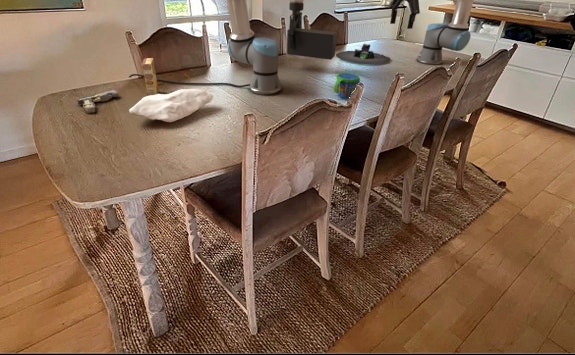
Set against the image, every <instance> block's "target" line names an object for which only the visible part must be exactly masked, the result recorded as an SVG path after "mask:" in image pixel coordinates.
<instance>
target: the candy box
mask: <svg viewBox="0 0 575 355" xmlns="http://www.w3.org/2000/svg"><path fill="white" fill-rule="evenodd" d="M141 66H142V73H143V75H144V77H143V78H144V82H145V87H146V92H147V96H150V95H156V94H159V91H160V90H159V84H158V80H157V78H158V77H157V73H156V66H155V62H154V58H153V57H151V58H150V57H149V58H146V57H145V58H143V60H142V63H141Z"/></svg>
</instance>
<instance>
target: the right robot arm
mask: <svg viewBox="0 0 575 355" xmlns="http://www.w3.org/2000/svg"><path fill="white" fill-rule="evenodd" d="M404 1H405V2H407V4H408V7H409V10H410V14H409V18H408V22H407V25H406V26H407V27H406V28H407V29H408V30H412V29H413V27H414V22H415V20H416V16H417V15H419V14H420V13H421V11H420V0H392V1H391V2H390V5H389V9H391V14H390V21H389V22H390V25H394V24H396V21H397V14H398V8H399V7H400V6H401V5H402V3H403V2H404ZM474 1H475V0H456V3H455V8H454V11H453V14H452V18H451V21H450V23H445V22H443V23H441V22H438V23H437V22H436V23H435V22H434V23H429V24H428V25H427V27H426V31H425V35H424V40H423V45H422V48H421V50H420V51H419V53H417V57H416V61H417V62H418V63H420V64H423V65H431V66H433V65H434V66H436V65H437V66H438V65H442V64H443V52H442V51H443V49H447V50H451V51H454V52H461V51H462V50H464V49H465V48H466V47H467V46H468V44H469V42H470V40H471V37H472V36H471V31H469V28H470V26H469V25H468V22H469V19H470V15H471V11H472V8H473V4H474ZM407 29H406V30H407Z"/></svg>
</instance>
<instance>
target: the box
mask: <svg viewBox="0 0 575 355" xmlns="http://www.w3.org/2000/svg"><path fill="white" fill-rule="evenodd" d="M286 32H287V34H286V36H287V37H286V55H289V56H298V57H304V58H305V57H306V58H314V59H322V60H333V59H334V58H335V57H336V46H337V38H338V37H337V36H338V32H337V31H331V30H321V29H320V30H319V29H311V28H310V29H309V28H303V27H302V28H296V30H295V49H293V48H290V36H289V29H287V30H286Z"/></svg>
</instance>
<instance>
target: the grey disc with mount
mask: <svg viewBox="0 0 575 355" xmlns="http://www.w3.org/2000/svg"><path fill="white" fill-rule="evenodd" d="M370 49H371V44H370V43H369V44H368V43H363V44H362V46H361V49H356V48H355V49H354V50H345V51H340V52H337V53H335V57H337V59H339V60H343V61H346V62H351V63H355V64H363V65H381V64H385V63H388V62H390V61H391V58H390V57H389V56H386V55H384V54H380V53H378V52H374V51H373V50H370Z"/></svg>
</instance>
